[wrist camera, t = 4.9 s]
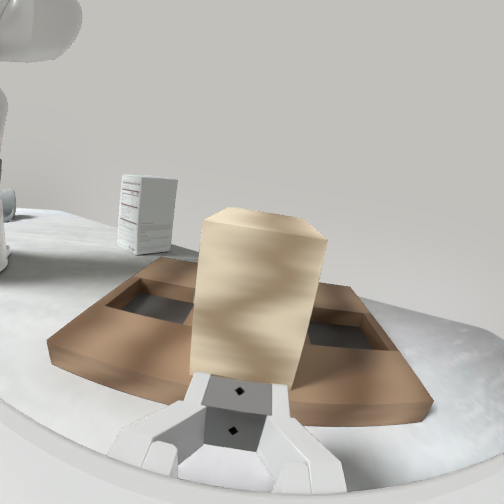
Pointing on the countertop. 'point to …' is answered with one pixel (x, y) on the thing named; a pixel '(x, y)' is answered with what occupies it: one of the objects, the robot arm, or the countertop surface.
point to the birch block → (254, 295)
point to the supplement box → (146, 213)
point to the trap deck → (179, 348)
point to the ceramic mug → (8, 204)
